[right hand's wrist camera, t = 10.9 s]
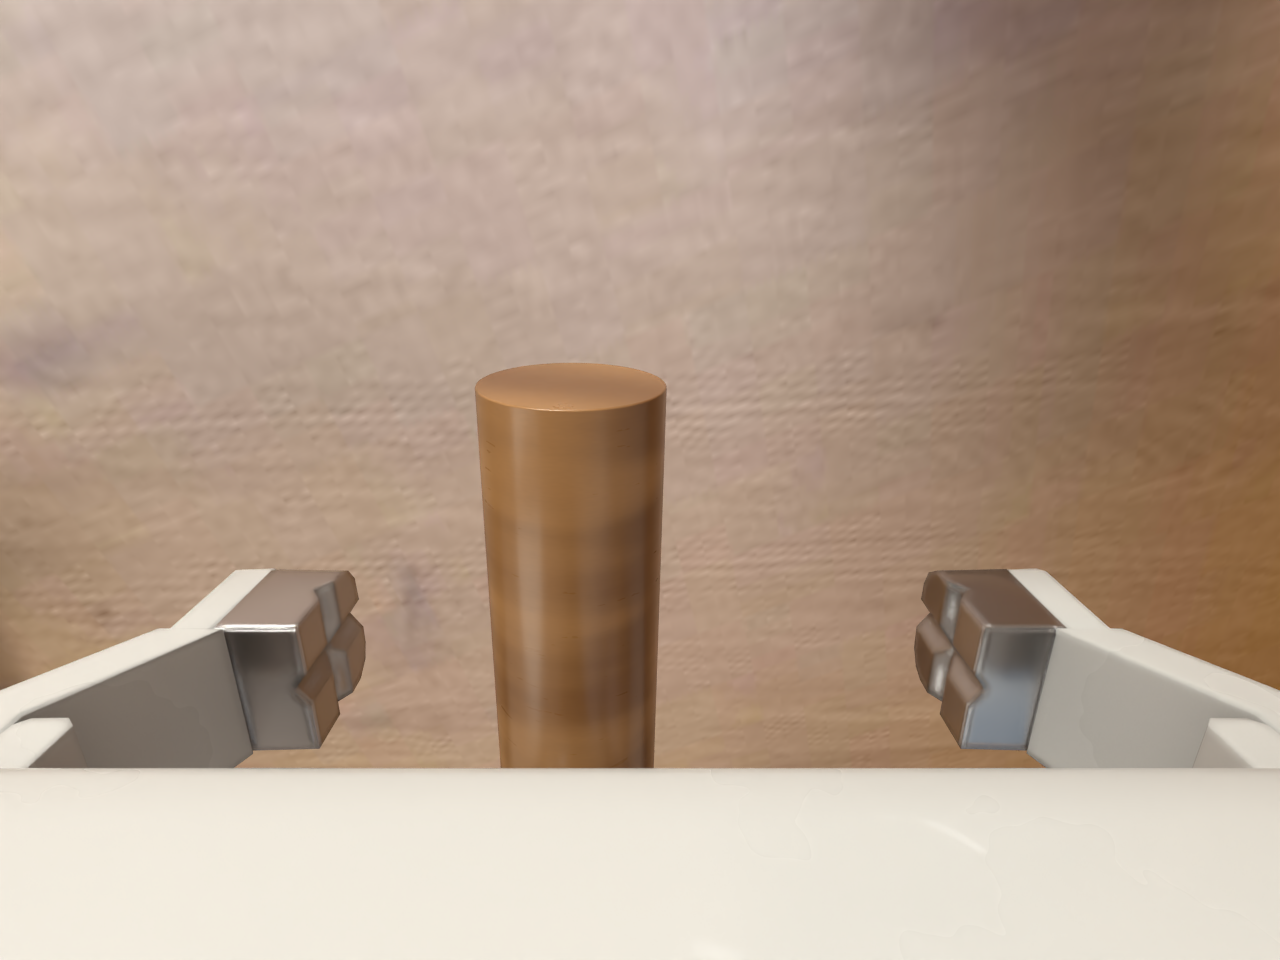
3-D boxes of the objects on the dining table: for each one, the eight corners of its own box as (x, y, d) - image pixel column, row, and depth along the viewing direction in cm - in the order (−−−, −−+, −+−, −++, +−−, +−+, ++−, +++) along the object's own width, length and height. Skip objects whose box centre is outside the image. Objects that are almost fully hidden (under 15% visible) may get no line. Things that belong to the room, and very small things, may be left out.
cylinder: (517, 358, 26) (439, 400, 20) (680, 368, 25) (645, 417, 19) (538, 830, 34) (487, 949, 29) (660, 854, 33) (632, 983, 28)
